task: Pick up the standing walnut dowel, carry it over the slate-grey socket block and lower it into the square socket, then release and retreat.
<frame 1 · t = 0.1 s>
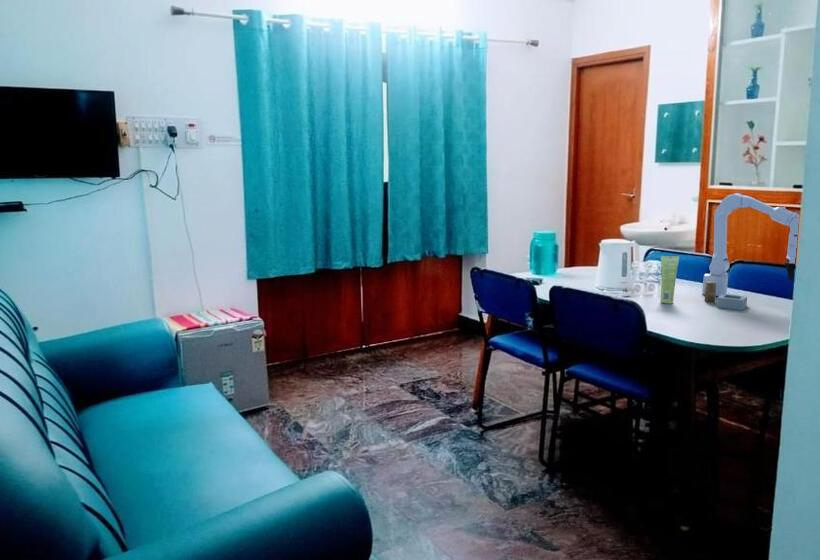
hand: (792, 278, 258), 10 cm above the table, fingers open, 7 cm apart
peg: (709, 301, 264), on the table
tube: (667, 303, 263), on the table
socket block: (731, 306, 254), on the table
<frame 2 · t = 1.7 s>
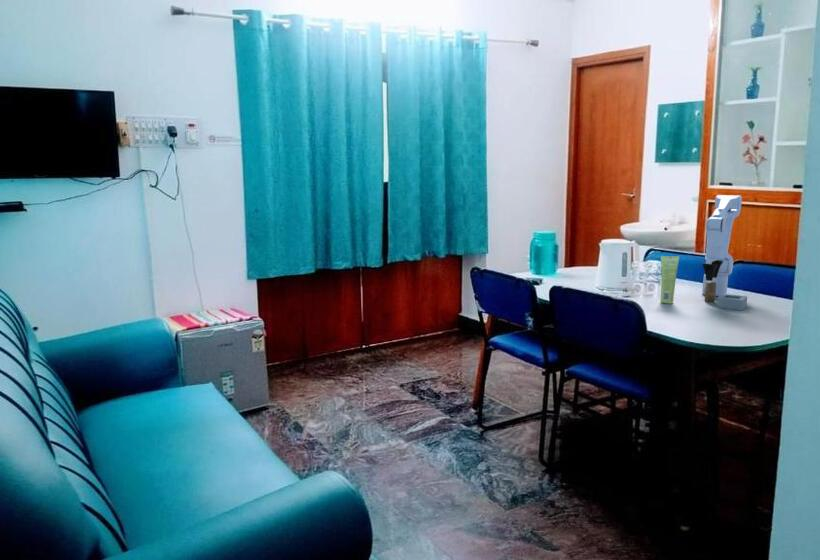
hand: (711, 279, 262), 9 cm above the table, fingers open, 7 cm apart
nothing on the table moved.
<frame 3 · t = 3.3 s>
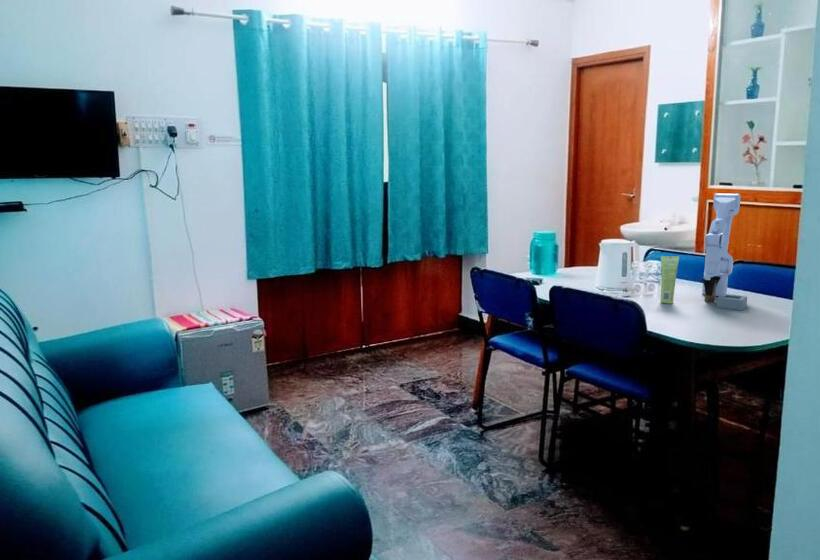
hand: (710, 294, 264), 3 cm above the table, fingers closed on peg, 4 cm apart
peg: (709, 301, 264), on the table, touching gripper
everything else where it was.
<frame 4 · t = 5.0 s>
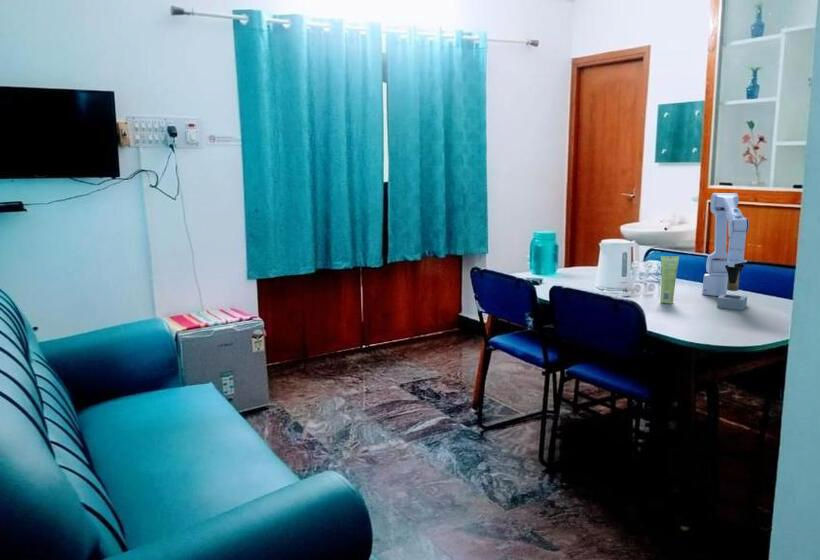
hand: (733, 282, 252), 10 cm above the table, fingers closed on peg, 4 cm apart
peg: (732, 289, 253), point 7 cm above the table, touching gripper
everything else where it was.
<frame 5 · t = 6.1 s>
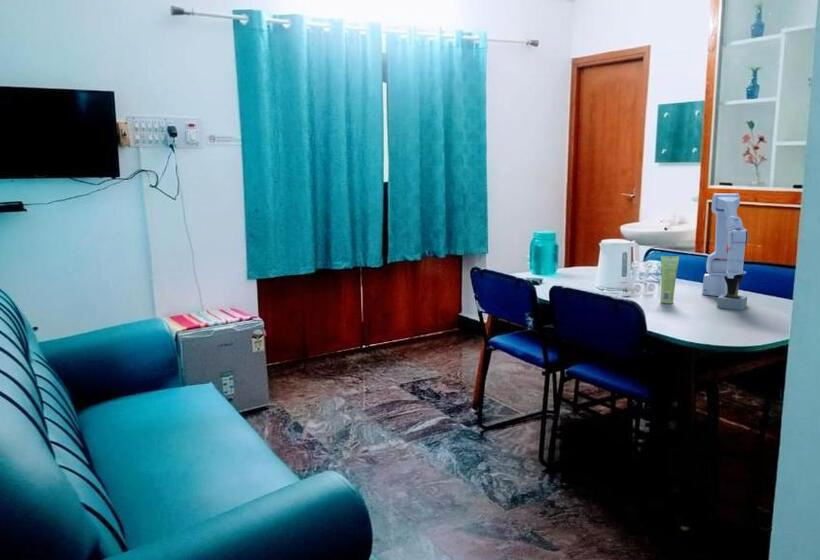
hand: (732, 293, 253), 5 cm above the table, fingers closed on peg, 4 cm apart
peg: (731, 301, 254), point 2 cm above the table, touching gripper
everything else where it was.
when the fingers open (5 cm above the table, at t = 6.9 s): peg drops 2 cm, resting in socket block.
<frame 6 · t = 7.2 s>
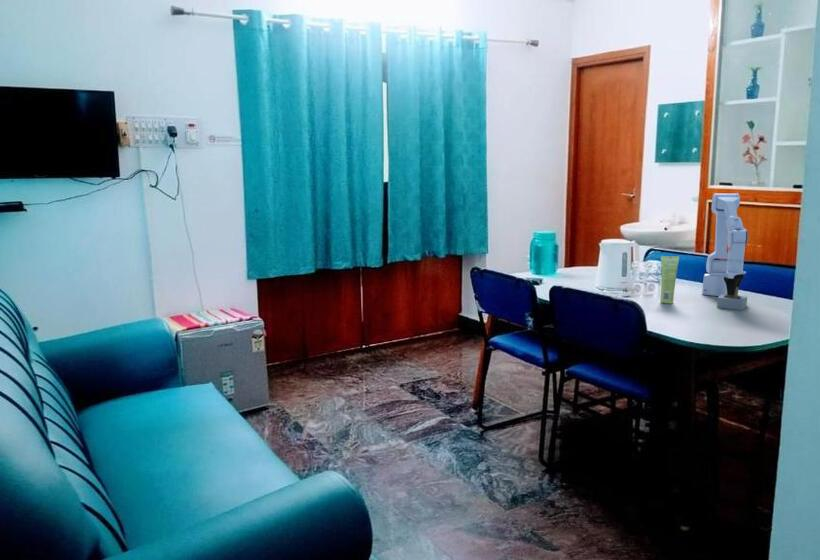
hand: (732, 293, 253), 5 cm above the table, fingers open, 7 cm apart
peg: (731, 306, 254), resting in socket block
everything else where it was.
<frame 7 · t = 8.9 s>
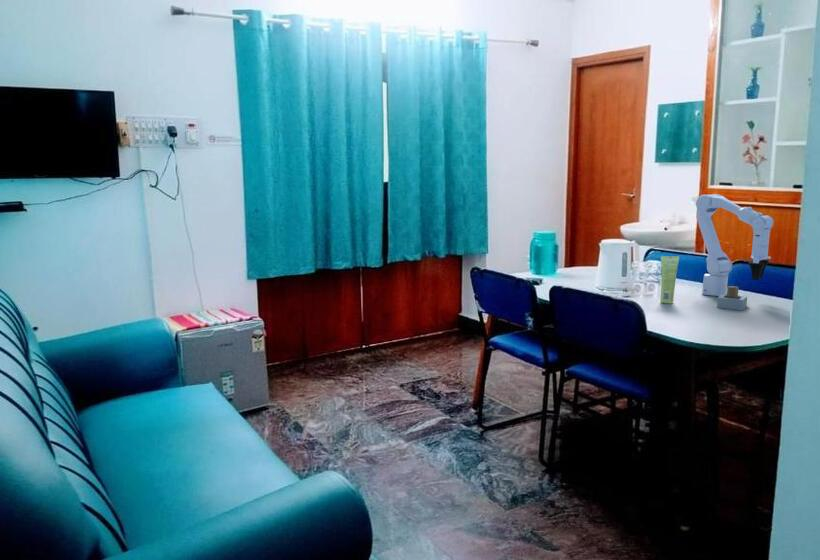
hand: (757, 278, 260), 10 cm above the table, fingers open, 7 cm apart
nothing on the table moved.
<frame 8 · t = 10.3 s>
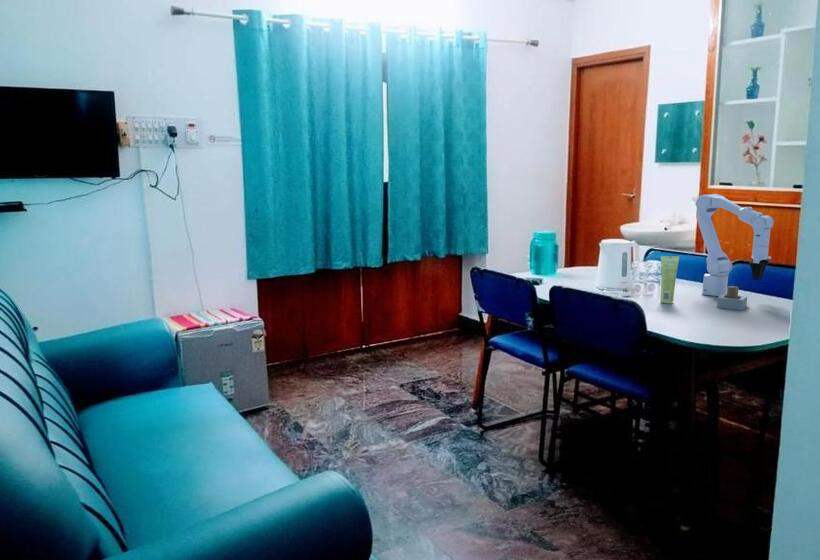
hand: (757, 278, 260), 10 cm above the table, fingers open, 7 cm apart
nothing on the table moved.
at the end: peg 0.2 cm off-centre on the socket block, point 0.0 cm above the socket block's base; peg tilted 0°; the gripper is holding nothing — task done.
